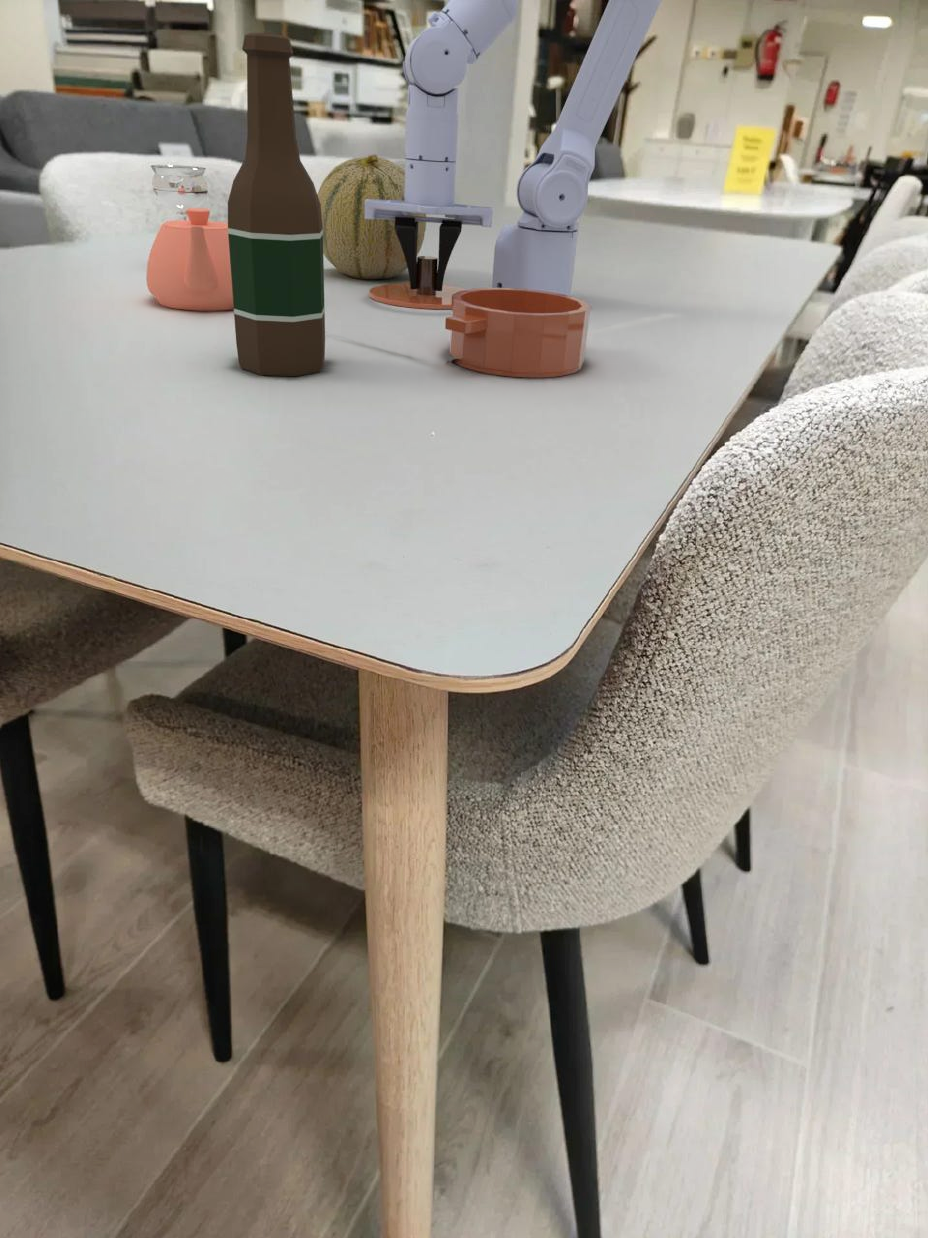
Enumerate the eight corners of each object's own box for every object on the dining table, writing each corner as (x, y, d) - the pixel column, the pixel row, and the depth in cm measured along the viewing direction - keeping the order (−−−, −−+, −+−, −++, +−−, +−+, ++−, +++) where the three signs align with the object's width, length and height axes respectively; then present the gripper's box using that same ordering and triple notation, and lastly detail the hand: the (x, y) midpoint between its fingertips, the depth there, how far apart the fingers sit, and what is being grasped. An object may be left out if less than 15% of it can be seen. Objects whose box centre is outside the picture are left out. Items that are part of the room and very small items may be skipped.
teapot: (259, 289, 105) (254, 202, 100) (263, 321, 90) (257, 221, 85) (155, 286, 102) (144, 198, 97) (140, 319, 87) (127, 216, 82)
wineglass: (151, 270, 111) (139, 166, 105) (175, 263, 117) (165, 163, 111) (201, 274, 111) (192, 170, 105) (222, 267, 117) (215, 167, 110)
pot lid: (345, 298, 103) (345, 252, 100) (423, 288, 112) (425, 246, 109) (428, 319, 95) (430, 270, 93) (505, 306, 104) (508, 261, 102)
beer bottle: (343, 362, 77) (339, 41, 65) (301, 382, 71) (288, 30, 59) (266, 350, 79) (248, 37, 67) (219, 369, 73) (190, 26, 61)
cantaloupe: (394, 269, 124) (396, 150, 116) (444, 287, 113) (450, 158, 105) (297, 271, 117) (292, 146, 109) (340, 292, 106) (338, 154, 99)
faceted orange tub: (401, 360, 79) (403, 298, 76) (521, 335, 91) (526, 281, 88) (508, 391, 72) (514, 324, 69) (622, 359, 84) (631, 302, 82)
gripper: (361, 157, 92) (361, 290, 99) (495, 166, 92) (486, 298, 99) (368, 154, 98) (368, 280, 105) (495, 163, 98) (486, 288, 105)
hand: (426, 288), depth 103 cm, fingers closed on pot lid, 2 cm apart
